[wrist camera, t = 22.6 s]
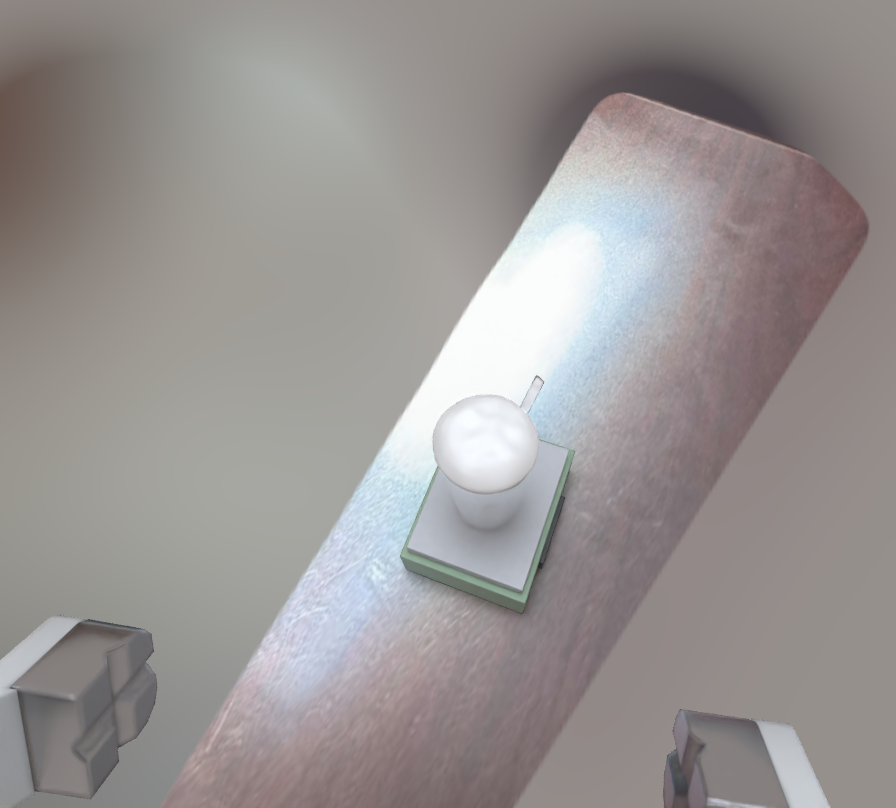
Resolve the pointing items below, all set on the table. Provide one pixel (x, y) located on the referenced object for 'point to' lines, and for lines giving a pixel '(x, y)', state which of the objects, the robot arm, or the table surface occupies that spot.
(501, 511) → the milkshake
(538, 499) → the scale
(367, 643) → the table surface
